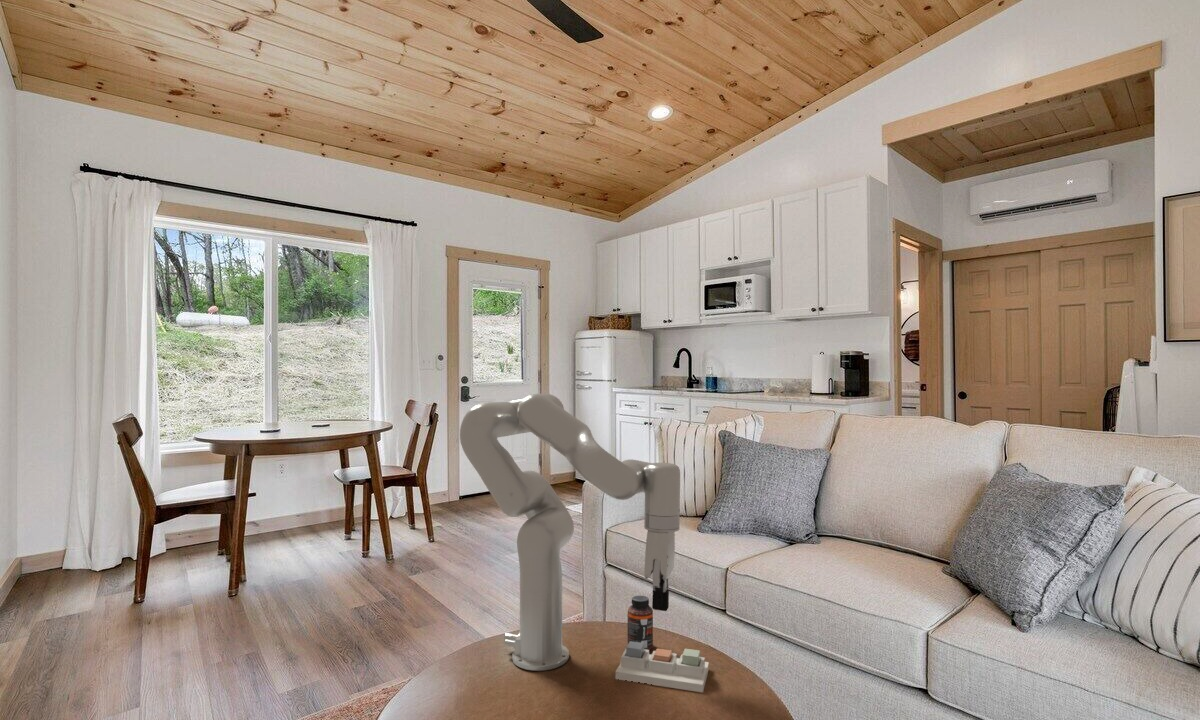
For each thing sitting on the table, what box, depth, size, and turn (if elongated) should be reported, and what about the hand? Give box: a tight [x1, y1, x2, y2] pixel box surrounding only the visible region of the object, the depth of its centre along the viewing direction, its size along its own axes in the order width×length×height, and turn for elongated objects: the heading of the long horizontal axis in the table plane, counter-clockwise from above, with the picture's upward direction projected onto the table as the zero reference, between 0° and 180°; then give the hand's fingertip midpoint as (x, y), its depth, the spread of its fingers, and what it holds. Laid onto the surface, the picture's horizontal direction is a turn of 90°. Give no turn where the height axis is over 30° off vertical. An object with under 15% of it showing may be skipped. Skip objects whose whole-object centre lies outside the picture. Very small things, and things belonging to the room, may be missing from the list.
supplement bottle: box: [626, 595, 654, 651], centre depth 134 cm, size 6×6×11 cm
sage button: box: [682, 648, 701, 666], centre depth 120 cm, size 3×3×2 cm
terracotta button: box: [654, 648, 673, 662], centre depth 122 cm, size 3×3×2 cm
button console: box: [614, 648, 710, 693], centre depth 122 cm, size 18×10×4 cm, turn 73°
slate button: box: [625, 641, 644, 658], centre depth 123 cm, size 3×3×2 cm
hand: (660, 608), depth 122 cm, fingers closed
